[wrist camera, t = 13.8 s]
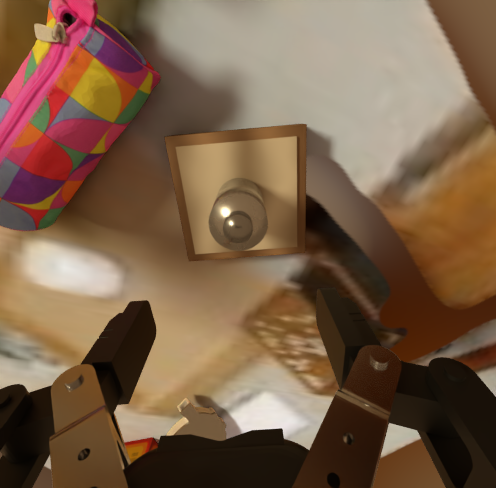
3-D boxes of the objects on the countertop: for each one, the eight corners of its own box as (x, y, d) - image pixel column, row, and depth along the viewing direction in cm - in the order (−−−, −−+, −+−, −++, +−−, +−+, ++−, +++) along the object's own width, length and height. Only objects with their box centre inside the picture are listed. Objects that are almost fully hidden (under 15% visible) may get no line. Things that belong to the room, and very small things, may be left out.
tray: (193, 250, 35) (188, 262, 32) (172, 135, 29) (163, 137, 26) (300, 242, 35) (305, 253, 32) (300, 123, 29) (307, 124, 26)
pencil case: (93, -12, 24) (14, -80, 16) (177, 71, 27) (147, 50, 19) (-2, 169, 31) (-92, 187, 23) (74, 221, 33) (18, 255, 25)
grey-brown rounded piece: (242, 437, 51) (209, 510, 43) (214, 424, 56) (180, 488, 49) (201, 390, 45) (155, 465, 38) (174, 381, 50) (128, 445, 43)
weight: (219, 224, 30) (211, 259, 23) (213, 179, 28) (202, 201, 20) (264, 221, 30) (270, 254, 22) (261, 175, 28) (267, 196, 20)
